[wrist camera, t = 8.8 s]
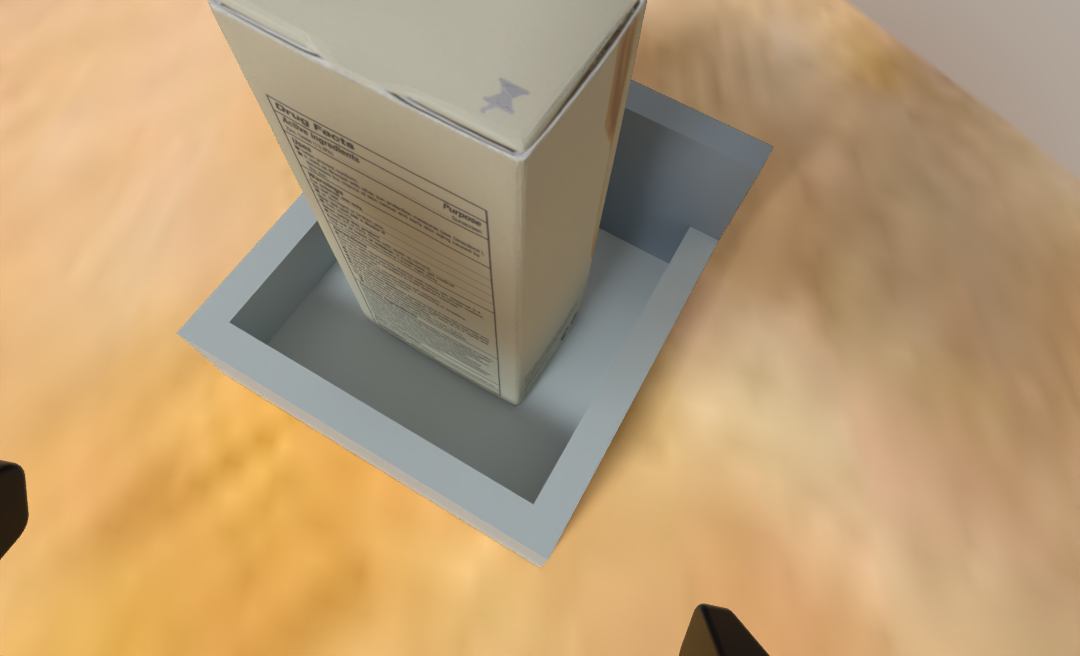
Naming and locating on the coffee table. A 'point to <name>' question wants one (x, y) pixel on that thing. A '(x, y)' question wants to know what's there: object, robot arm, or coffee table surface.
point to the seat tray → (458, 404)
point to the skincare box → (450, 158)
